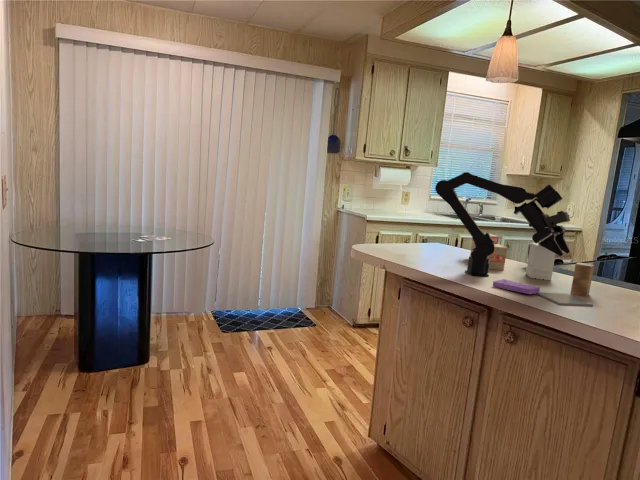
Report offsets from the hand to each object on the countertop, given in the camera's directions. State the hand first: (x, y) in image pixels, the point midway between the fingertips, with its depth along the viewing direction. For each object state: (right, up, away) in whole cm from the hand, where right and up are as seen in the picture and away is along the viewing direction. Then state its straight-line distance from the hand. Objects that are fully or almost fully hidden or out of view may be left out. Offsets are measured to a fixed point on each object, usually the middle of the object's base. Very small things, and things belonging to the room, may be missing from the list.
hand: (565, 254), depth 148 cm
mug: (+7, -7, +36) cm, 38 cm away
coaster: (-7, -14, -12) cm, 19 cm away
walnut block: (+4, -13, -2) cm, 14 cm away
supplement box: (0, -10, +19) cm, 22 cm away
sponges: (-19, -11, -4) cm, 22 cm away
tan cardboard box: (-12, -6, +38) cm, 40 cm away
